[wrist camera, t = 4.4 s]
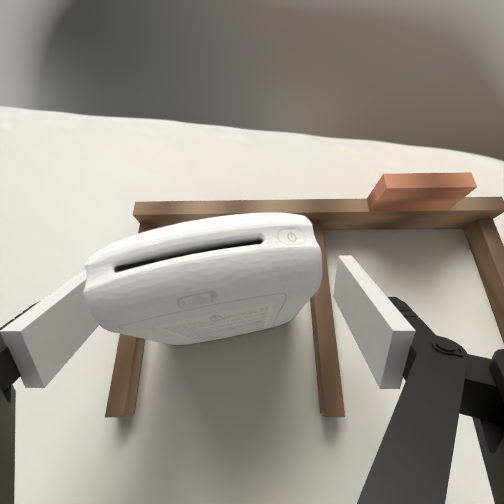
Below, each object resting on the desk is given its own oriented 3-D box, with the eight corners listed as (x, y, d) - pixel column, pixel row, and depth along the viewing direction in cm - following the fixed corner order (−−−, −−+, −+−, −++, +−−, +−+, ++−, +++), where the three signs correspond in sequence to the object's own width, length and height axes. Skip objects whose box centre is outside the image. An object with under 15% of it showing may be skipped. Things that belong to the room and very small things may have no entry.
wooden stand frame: (117, 412, 18) (56, 434, 13) (149, 220, 24) (117, 177, 19) (546, 412, 18) (676, 435, 12) (473, 216, 24) (539, 171, 18)
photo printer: (286, 272, 22) (317, 175, 11) (299, 324, 20) (354, 276, 9) (162, 296, 21) (55, 221, 10) (166, 351, 20) (42, 337, 8)
